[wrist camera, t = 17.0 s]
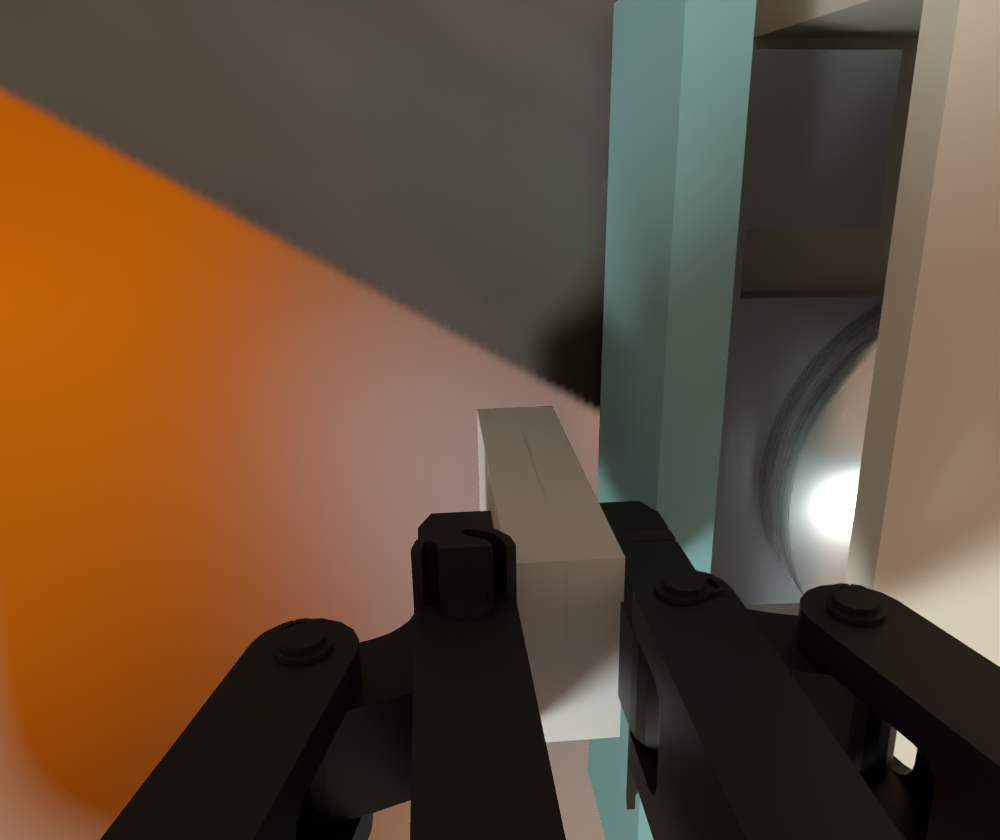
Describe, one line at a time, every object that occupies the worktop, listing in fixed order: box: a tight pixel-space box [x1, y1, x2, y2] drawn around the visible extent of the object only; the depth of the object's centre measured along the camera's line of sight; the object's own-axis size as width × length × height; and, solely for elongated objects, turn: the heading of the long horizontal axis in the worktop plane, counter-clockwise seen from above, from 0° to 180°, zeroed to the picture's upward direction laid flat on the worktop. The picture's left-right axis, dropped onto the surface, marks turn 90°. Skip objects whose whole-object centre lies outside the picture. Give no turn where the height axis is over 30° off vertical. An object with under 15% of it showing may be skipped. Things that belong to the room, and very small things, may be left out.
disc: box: [759, 304, 882, 596], centre depth 17 cm, size 8×8×2 cm
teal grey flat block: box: [588, 0, 902, 840], centre depth 17 cm, size 13×18×5 cm
